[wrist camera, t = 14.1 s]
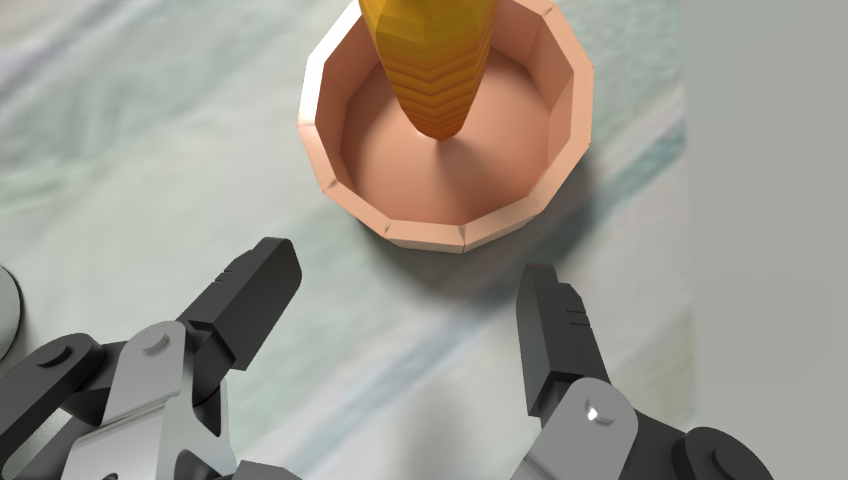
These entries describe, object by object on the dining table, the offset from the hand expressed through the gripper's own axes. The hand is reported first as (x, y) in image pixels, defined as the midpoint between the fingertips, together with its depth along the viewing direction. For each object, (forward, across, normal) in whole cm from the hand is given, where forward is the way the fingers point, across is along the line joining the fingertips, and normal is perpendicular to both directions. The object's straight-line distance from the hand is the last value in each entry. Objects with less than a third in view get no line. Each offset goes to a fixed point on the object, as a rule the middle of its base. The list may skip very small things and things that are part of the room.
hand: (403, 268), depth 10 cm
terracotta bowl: (+14, 0, 0) cm, 14 cm away
